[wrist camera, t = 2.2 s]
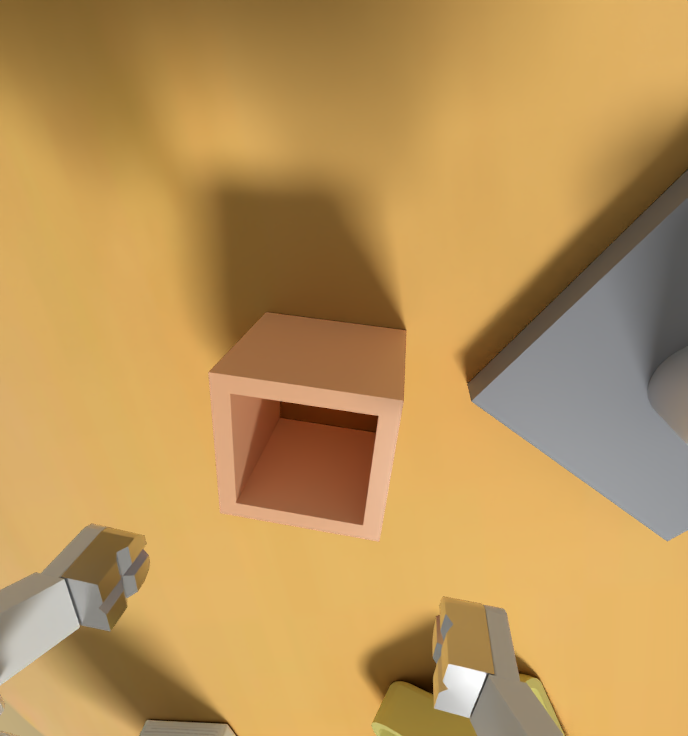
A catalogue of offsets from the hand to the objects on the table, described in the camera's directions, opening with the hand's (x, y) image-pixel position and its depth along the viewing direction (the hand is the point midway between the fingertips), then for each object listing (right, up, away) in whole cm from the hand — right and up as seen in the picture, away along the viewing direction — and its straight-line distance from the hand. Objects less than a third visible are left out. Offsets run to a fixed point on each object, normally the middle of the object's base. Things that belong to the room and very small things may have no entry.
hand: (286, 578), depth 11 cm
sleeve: (+1, +5, +9) cm, 10 cm away
